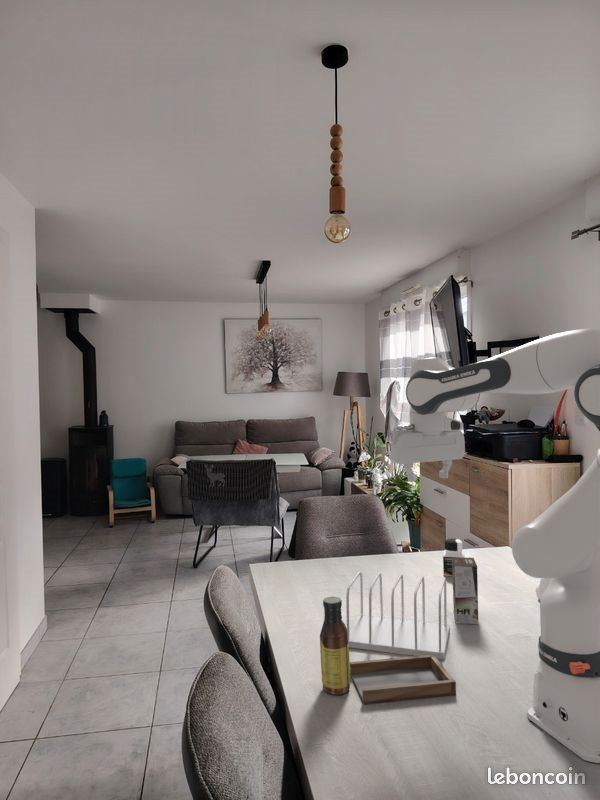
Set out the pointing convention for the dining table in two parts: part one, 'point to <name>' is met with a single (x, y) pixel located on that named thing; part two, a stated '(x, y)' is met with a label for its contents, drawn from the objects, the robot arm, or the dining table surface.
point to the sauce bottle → (334, 649)
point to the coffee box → (465, 590)
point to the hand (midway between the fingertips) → (428, 479)
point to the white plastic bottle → (451, 554)
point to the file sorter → (398, 626)
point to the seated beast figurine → (542, 587)
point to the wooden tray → (401, 679)
